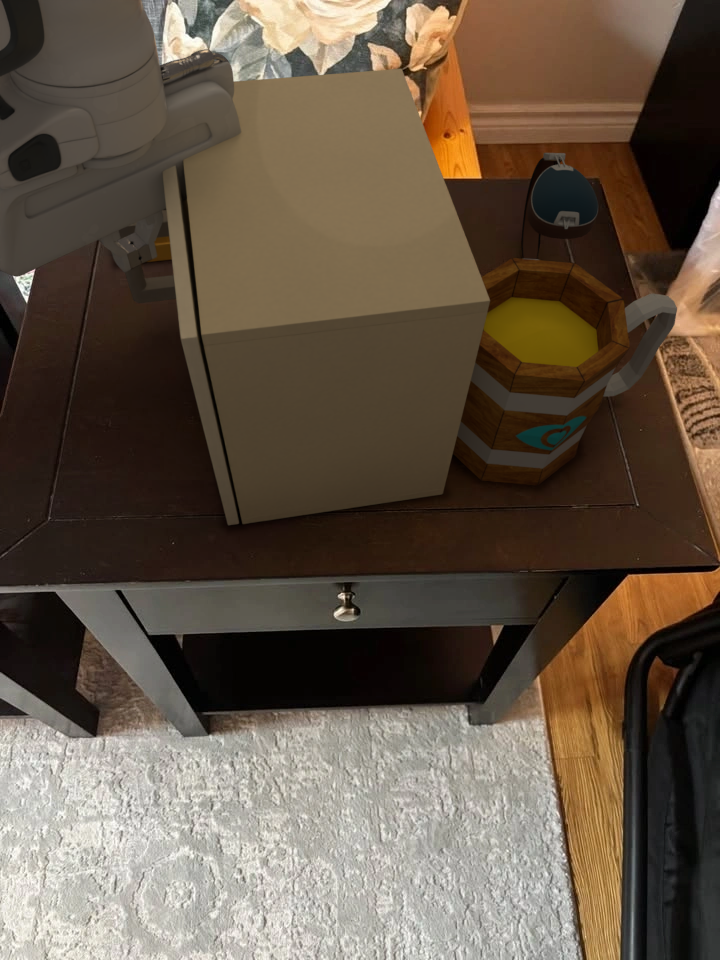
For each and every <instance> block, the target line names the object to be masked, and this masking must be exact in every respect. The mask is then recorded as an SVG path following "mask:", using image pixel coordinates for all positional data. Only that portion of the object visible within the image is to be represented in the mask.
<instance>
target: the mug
mask: <svg viewBox="0 0 720 960" xmlns="http://www.w3.org/2000/svg"><path fill="white" fill-rule="evenodd" d="M481 278H482V280H483V283H484V286H485V288H486V291H487V294H488V296H489V299H490V303H489V307H488V311H487V316H486V320H485V324H484V328H483V332H482V336H481V340H480V344H479V348H478V352H477V357H476V361H475V365H474V369H473V373H472V377H471V381H470V385H469V389H468V393H467V397H466V401H465V405H464V409H463V414H462V418H461V422H460V426H459V430H458V434H457V438H456V442H455V446H454V450H453V454H452V455H453V456H454V457H455V458H457V459H458V461H460V462H461V463H462V464H463V465H464V466H465V467H466V468H467V469H468V470H469V471H470V472H471V473H473V475H475V476H476V478H478V479H479V480H480V481H484V482H493V483H506V484H514V485H515V484H516V485H526V486H539V485H540V484H542V483H543V482H545V480H546V479H548V478H549V477H550V476H552V475H553V474H555V473H556V472H557V471H558V470H560V468H562V467H563V466H565V465H566V464H567V463H569V462H570V461H571V460H572V459H573V458H575V457H576V456H577V452H578V448H579V444H580V441H581V438H582V436H583V434H584V432H585V430H586V428H587V426H588V424H589V423H590V422H591V420H592V419H593V417H594V416H595V415H596V413H597V412H598V410H599V409H600V408H601V404H602V402H603V398H604V397H616V396H617V395H620V394H622V393H624V392H626V391H629V390H630V389H631V388H632V387H633V386H634V385H635V384H636V383H637V382H639V380H640V379H641V378H642V377H643V375H644V374H645V372H646V371H647V369H648V367H649V366H650V364H651V363H652V361H653V359H654V357H655V356H656V354H657V352H658V351H659V349H660V347H661V345H662V344H663V343H664V342H665V340H666V339H667V337H668V336H669V334H670V333H671V331H672V330H673V328H674V326H675V325H676V324H675V323H676V318H677V312H678V307H677V305H676V303H675V301H674V300H673V299H672V298H671V297H670V296H669V295H664V294H660V293H649V294H647V295H644V296H642V297H640V298H638V299H635V300H634V301H632V302H631V303H629V304H628V305H627V306H625V300H624V298H623V297H622V296H620V295H619V294H617V293H616V292H615V291H613V290H612V289H611V288H609V287H608V286H606V285H605V284H604V283H602V282H601V281H599V280H598V279H597V278H596V277H594V276H593V275H592V274H590V273H589V272H588V271H586V270H585V269H584V268H582V267H581V266H579V264H576V263H575V262H565V261H555V260H554V261H551V260H543V259H542V260H541V259H539V260H530V259H523V258H517V257H512V258H510V259H508V260H507V261H505V262H503V263H502V264H500V265H499V266H497V267H495V268H494V269H492V270H491V271H490V272H487V273H486V274H484V275H483V276H481ZM653 317H654V319H653V320H652V322H651V324H649V327H648V328H647V329H646V331H645V332H644V334H643V335H642V338H641V339H640V341H639V343H638V345H637V347H636V349H635V351H634V352H633V354H632V357H631V358H630V359H629V360H628V362H627V363H626V364H625V365H624V366H623V367H622V368H621V369H620V370H619V371H617V372H616V373H614V372H615V370H616V368H617V366H618V365H619V364H620V363H621V361H622V360H623V358H624V357H625V356H626V354H627V353H628V351H629V350H630V349H631V347H630V337H629V333H630V332H632V331H633V330H635V329H636V328H637V327H638V326H640V325H641V324H642V323H644V322H645V321H646V320H649V319H651V318H653ZM613 373H614V374H613Z"/></svg>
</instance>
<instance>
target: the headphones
mask: <svg viewBox="0 0 720 960" xmlns="http://www.w3.org/2000/svg"><path fill="white" fill-rule="evenodd" d="M565 161H566V152H543V155H542V157H541V158H540V159H539V160H538V162H537V163H536V165H535V167H534V169H533V171H532V175H531V178H530V181H529V184H528V189H527V193H526V197H525V204H524V210H523V220H522V229H521V243H520V244H521V255H522V259H530V260H540V259H539V252H540V246H541V236H544V237H547V238H552V239H559V240H571V239H578V238H582V237H584V236H586V235H588V234H589V233H590V232H591V231H592V229H593V227H594V224H595V223H596V220H597V218H598V214H599V202H598V198H597V197H598V196H597V195H596V192H595V190H594V188H593V186H592V185H591V183H590V182H589V181H588V179H587V178H586V176H585V175H584V174H582V172H581V171H579V170H578V169H576V168H575V167H573V166H571V165H568V164H566V163H565ZM561 162H562V163H561Z"/></svg>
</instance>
